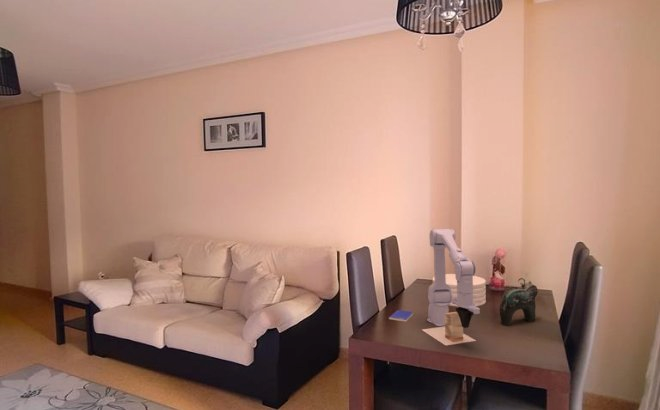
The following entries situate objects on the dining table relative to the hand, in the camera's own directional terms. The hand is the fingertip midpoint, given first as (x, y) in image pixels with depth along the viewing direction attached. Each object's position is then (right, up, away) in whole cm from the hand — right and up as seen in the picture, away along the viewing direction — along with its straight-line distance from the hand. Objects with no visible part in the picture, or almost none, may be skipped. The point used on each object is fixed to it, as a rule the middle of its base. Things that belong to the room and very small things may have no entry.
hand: (465, 327), depth 145 cm
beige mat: (-3, -8, +12) cm, 14 cm away
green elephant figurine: (+34, -7, +26) cm, 43 cm away
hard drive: (-17, -8, +38) cm, 43 cm away
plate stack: (+20, -6, +65) cm, 68 cm away
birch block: (-2, -7, +7) cm, 10 cm away
